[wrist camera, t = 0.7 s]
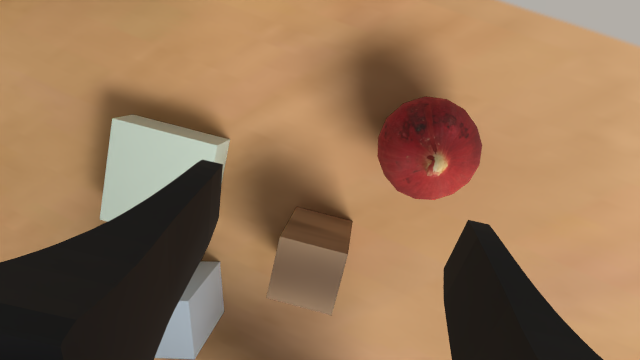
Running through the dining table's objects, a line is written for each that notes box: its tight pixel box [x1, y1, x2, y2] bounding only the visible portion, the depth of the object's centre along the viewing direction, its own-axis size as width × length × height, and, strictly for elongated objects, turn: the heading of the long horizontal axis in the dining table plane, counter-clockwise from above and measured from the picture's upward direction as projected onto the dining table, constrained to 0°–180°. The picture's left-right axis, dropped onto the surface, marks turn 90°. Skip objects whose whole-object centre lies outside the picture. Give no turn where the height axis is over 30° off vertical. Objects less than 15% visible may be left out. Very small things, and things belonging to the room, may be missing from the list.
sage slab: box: [100, 115, 230, 222], centre depth 32 cm, size 7×7×3 cm
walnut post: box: [266, 207, 352, 316], centre depth 30 cm, size 4×4×6 cm
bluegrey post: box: [155, 261, 224, 359], centre depth 32 cm, size 4×4×6 cm
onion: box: [378, 97, 482, 200], centre depth 27 cm, size 6×6×8 cm
